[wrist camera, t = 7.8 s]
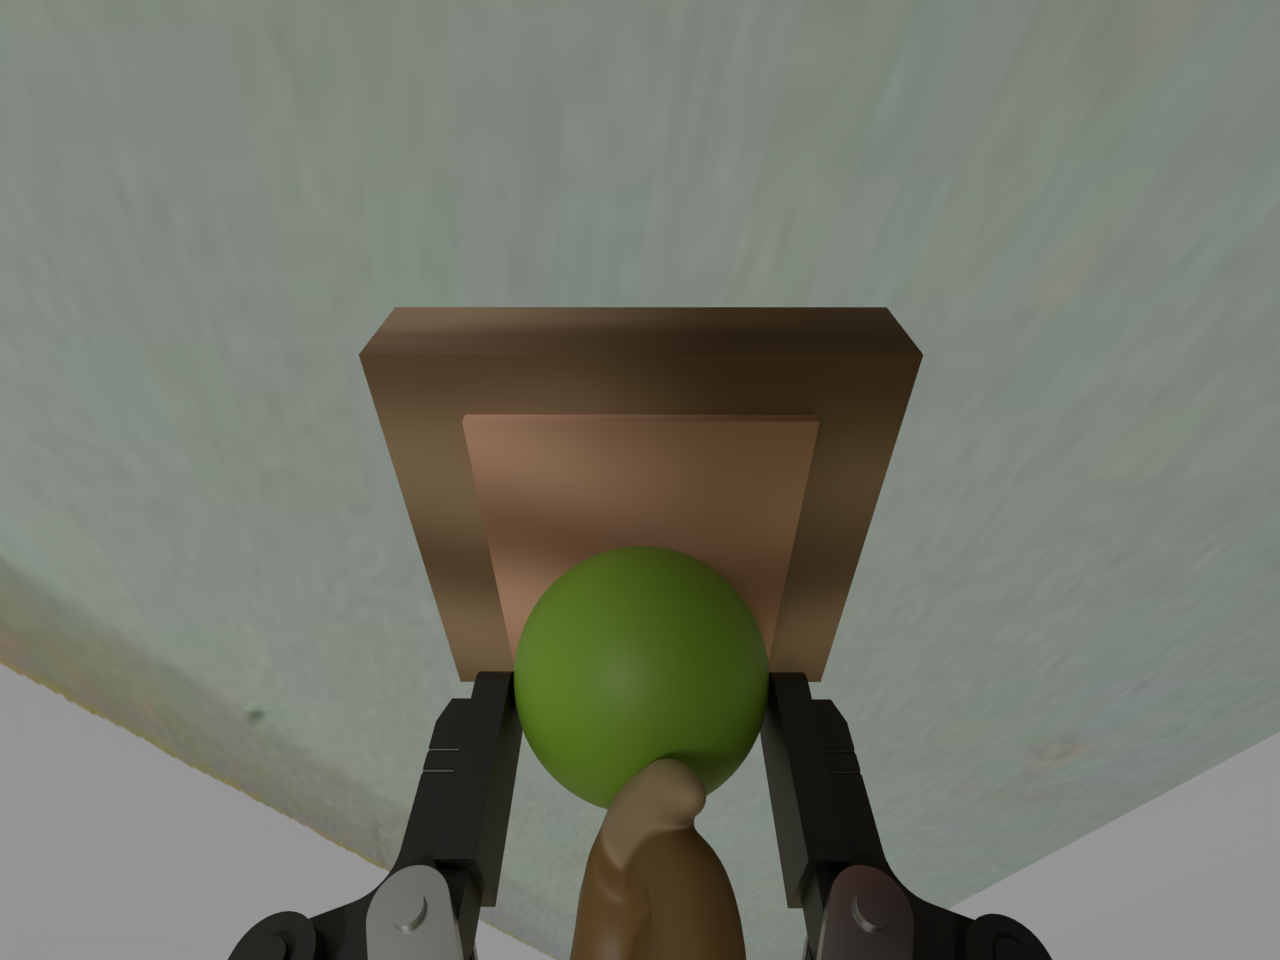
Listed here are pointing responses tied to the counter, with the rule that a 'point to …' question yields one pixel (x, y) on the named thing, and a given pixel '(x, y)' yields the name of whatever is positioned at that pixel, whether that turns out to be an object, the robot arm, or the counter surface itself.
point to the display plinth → (640, 453)
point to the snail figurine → (645, 740)
